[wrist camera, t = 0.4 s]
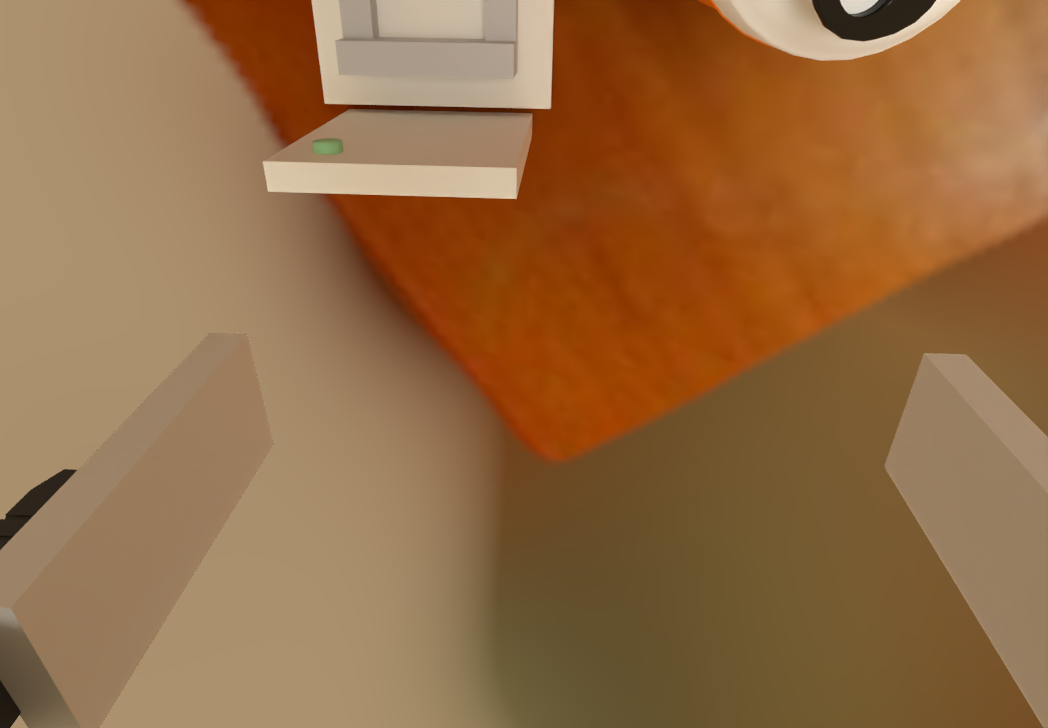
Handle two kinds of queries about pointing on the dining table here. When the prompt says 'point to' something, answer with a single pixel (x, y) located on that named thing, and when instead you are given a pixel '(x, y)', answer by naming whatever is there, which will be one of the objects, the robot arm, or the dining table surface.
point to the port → (423, 98)
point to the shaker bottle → (831, 24)
